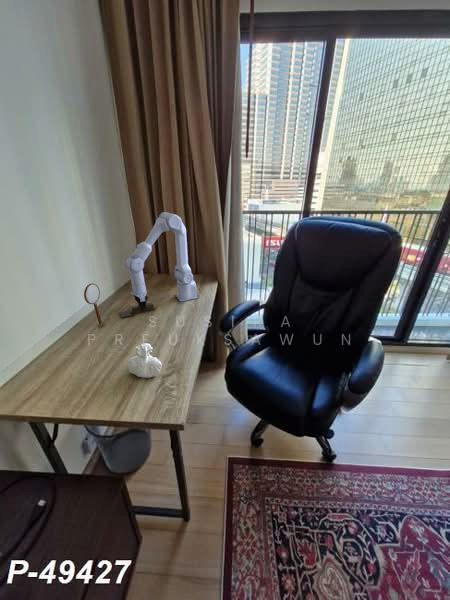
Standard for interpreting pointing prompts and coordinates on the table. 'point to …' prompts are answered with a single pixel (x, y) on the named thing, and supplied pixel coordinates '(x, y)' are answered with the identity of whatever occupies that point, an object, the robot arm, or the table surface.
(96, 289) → the magnifying glass
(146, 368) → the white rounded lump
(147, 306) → the spatula
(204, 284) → the table surface
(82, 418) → the table surface
